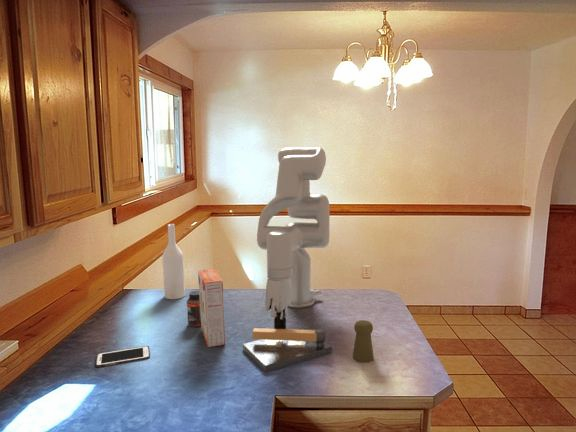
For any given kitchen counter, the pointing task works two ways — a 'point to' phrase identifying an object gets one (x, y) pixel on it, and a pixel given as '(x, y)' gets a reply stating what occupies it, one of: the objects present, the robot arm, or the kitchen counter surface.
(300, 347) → the plate
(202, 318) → the cracker box
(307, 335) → the wooden bar
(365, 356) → the cork
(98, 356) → the cell phone
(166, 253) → the bottle
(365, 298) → the kitchen counter surface
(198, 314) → the supplement bottle
